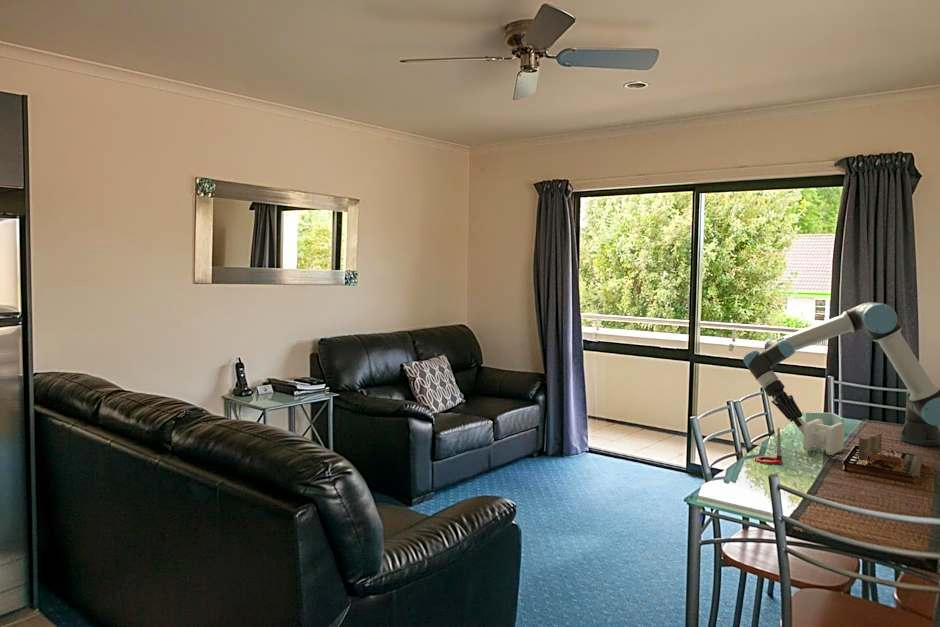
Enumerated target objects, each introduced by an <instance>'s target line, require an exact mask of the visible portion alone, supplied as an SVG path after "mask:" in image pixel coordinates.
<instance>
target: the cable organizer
mask: <svg viewBox="0 0 940 627" xmlns="http://www.w3.org/2000/svg"><path fill="white" fill-rule="evenodd" d="M845 428H846V425H845V422H844V423H841V422H839V423H837V424H834V425H832V426H828V425H823V420H822V419H815V420H813V421H810V422H808V423H806V424H805V425H804V427H803V429H804V435H803V441H802V444H803V445H802V448H803V450H805V451H807V452H810V451H812V450H814V449H815V450H817V448H821V449H823V450H822V451H824V452H826V454H827V455H829V456H830V455H832V456H835V454H837V453H840V452H841V451H843V449H844V443H845V431H846V430H845Z"/></svg>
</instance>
